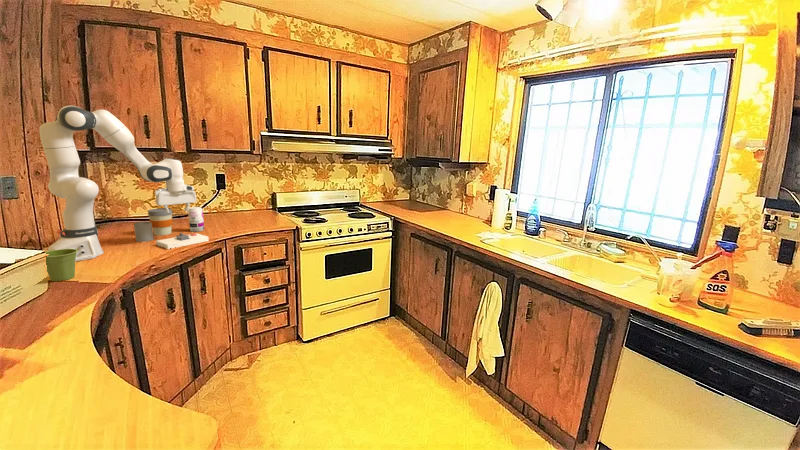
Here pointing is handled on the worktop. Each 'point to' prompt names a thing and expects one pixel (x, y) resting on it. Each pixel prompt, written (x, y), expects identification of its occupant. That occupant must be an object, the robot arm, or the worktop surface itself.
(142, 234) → the cup
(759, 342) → the worktop surface
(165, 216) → the reusable coffee cup
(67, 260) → the plant pot
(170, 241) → the socket plate
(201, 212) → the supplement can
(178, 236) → the plug
